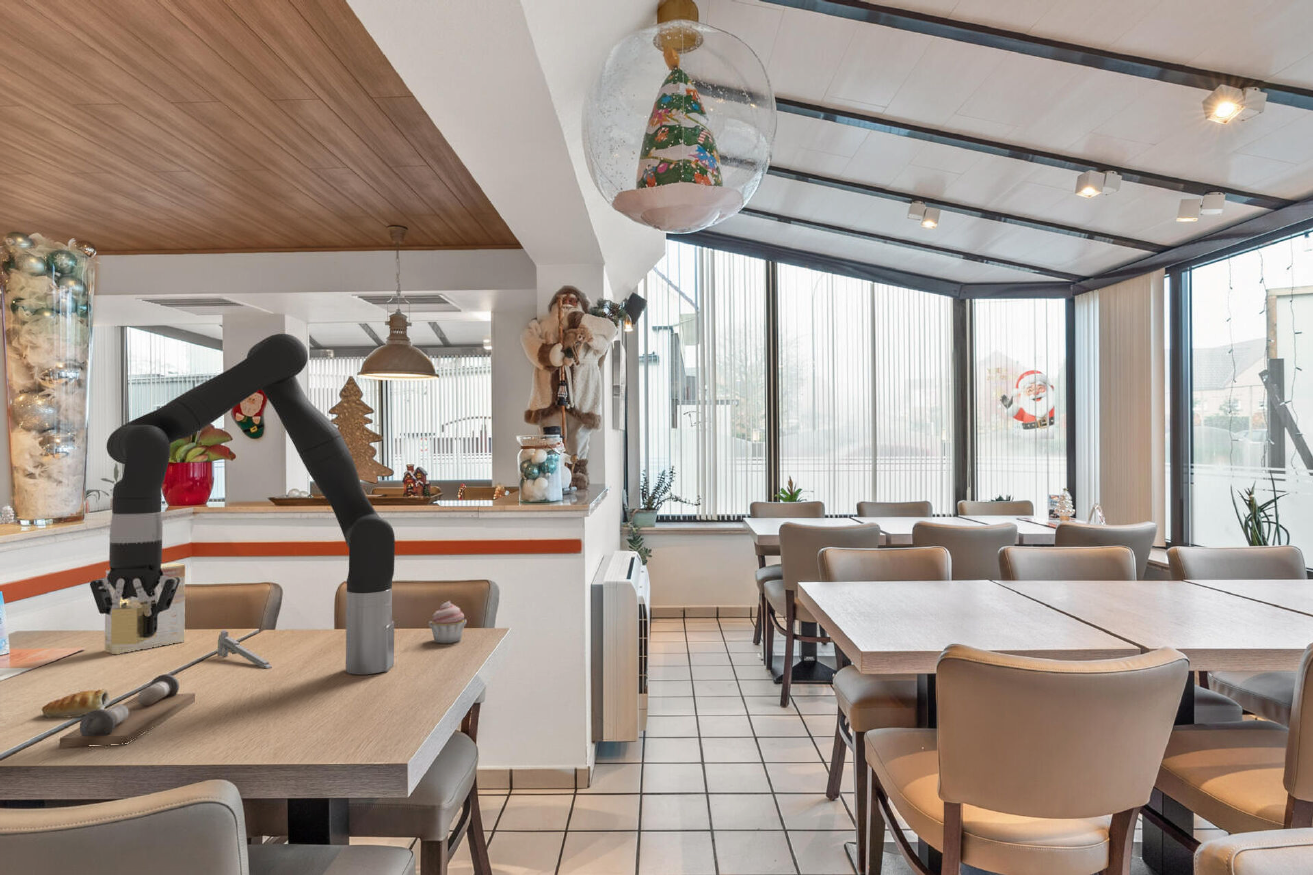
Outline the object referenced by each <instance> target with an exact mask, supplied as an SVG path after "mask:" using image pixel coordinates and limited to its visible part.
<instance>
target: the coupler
mask: <svg viewBox="0 0 1313 875" xmlns="http://www.w3.org/2000/svg"><path fill="white" fill-rule="evenodd" d="M144 617H145V615H144V612H143V607H142V605H141V604H140V603H139V602H133V603H130V604H128V605H124V606H121V607H118V608H114V609H112V620H111V645H124V644H138V643H140V642H143V641H145V640H147V639H150V638H152V637H154V636H156V633H154V635H153V636H151V637H149V638H144V637H143V619H144Z"/></svg>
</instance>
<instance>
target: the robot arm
mask: <svg viewBox="0 0 1313 875" xmlns="http://www.w3.org/2000/svg"><path fill="white" fill-rule="evenodd" d="M308 354H309V353H308V350H307V348H306V346H305V343H303V342H302V341H301V340H300V339H299V338H298V337H296V336H294V335H292V334H289V333H276V334H272V335H270V336H267V337H265V338H264V339H262V340H261V341H259V342H257V343H255V344H254V345H253V346H252V347H251V348H250V349H249V350H248V352H247V354H246V358H244V359H243V360H242V361H240V362H239V363H237V364H236V365H234V366H232V367H230V368H229V369H227V370H225V371H223V372H222V373H220V374H217V375H215V376H214V377H212V378H210V379H208V380H206V381H205V382H202V383H201V384H198V385H197V386H195V387H192V388H191V389H189V390H187V391H186V392H184V393H182V394H180V395H179V396H177V397H175V398H174V399H172V400H170V401H169V402H167V403H166V404H164V405H163V406H161V407H159V408H157V409H156V410H153V411H151V412H148V413H146V414H143V415H142V416H139V417H137V418H135V419H132V420H130V421H129V422H127V423H124V424H122V425H121V426H120V427H118V428H116V429H114V431H112V432H111V434H110V435H109V437H108V439H107V442H106V451H107V454H108V455H109V457H110V458H111V459H113V461H115V462H117V463H119V464H122V465H123V466H124V467H123V472H122V477H121V479H120V480H118V481H117V482H116V483H115V484H114V486H113V488H112V489H113V490H112V502H111V504H112V506H111V508H112V509H111V512H112V514H111V520H110V525H109V550H108V551H109V558H108V560H109V561H108V565H109V570H110V572H109V574H108V576H107V577H106V576H105V577H103V578H98V579H95V580H92V581H90V583H89V587H90V589H91V592H92V596H93V598H94V602H95V604H96V606H97V610H98V613H99V614H101V615H103V614H104V615H105V614H108V615H110V616H111V617H112V609H114V608H118V607H121V606H124V605H128V603H129V601H130V600H131V598H132V597H136V598H138V600H139V603H140V604H141V605H142V607H143V612H144V615H145V617H144V619H143V637H144V638H149V637H151V636H153V635H154V633H156V631H157V619H158V614H159V613H160V612H162V611H165V610H167V609H169V608H170V606H171V603H172V600H173V598H174V595H175V593H176V590H177V587H178V585H179V582H180V579H179V578H178V577H175V578H171V577H167V576H164V574H163V572H162V570H161V564H163V563H162V562H163V526H164V524H163V518H162V497H163V496H162V487H163V484H164V481H165V477H166V474H167V470H168V467H169V466H168V465H169V462H170V458H171V443H173V442H175V441H179V440H183V439H187V438H188V437H191V436H193V435H195V434H197V433H198V432H200V431H201V430H203V429H205V428H206V427H207V426H209V425H210V424H212V423H215V422H216V420H218V419H220V418H221V417H222V416H223V415H225V414H227V413H228V412H230V411H231V410H232V409H234V408H235V407H236V406H238V405H240V403H242V402H243V401H246V399H248V398H249V397H251V396H252V395H254V394H256V393H257V392H259V391H262V393H263V395H264V396H265V398H267V399H268V402H269V403H270V404H271V406H272V407H273V409H274V411H275V413H276V414H277V416H278V417H279V419H280V422H281V423H282V425H283V427H284V429H285V432H286V433H287V434H288V436H289V438H290V440H291V442H292V444H293V445H294V448H295V450H296V452H297V453H298V456H299V458H300V459H301V461H302V463H303V465H304V467H305V468H306V470H307V472H308V474H309V475H310V476H311V478H312V481H313V482H314V483H315V485H316V486H317V487H318V489H319V490H320V492H321V493H322V495H323V496H324V498H325V499H326V501H327V502H328V504H329V506H330V507H331V508H332V511H333V513H334V515H335V518H336V520H337V522H338V524H339V527H340V530H341V532H342V534H343V538H344V540H345V544H346V546H347V547H348V549H349V550H348V573H347V579H346V602H345V603H346V604H345V605H346V608H345V609H346V618H345V622H346V623H345V627H346V628H345V671H346V673H348V674H349V675H350V674H351V675H371V674H377V673H383V672H385V673H386V672H388V671H389V670H390V669H391V668H392V666H394V664H395V621H394V620H393V616H392V615H393V613H392V609H393V608H392V607H393V606H392V605H393V604H392V603H393V602H392V601H393V598H392V597H393V589H392V588H393V578H394V574H395V550H396V548H395V547H396V544H395V543H396V538H395V532H394V528H393V527H392V525H391V524H390V523H389V522H388V521H387V520H385V519H384V518H381V517H380V515H379V514H378V512H377V511H376V510H375V508H374V507H373V505H372V503H371V502H370V500H369V499H368V497H367V496H366V494H365V491H364V490H363V486H362V485H361V484H362V483H361V481H360V477H359V473H358V471H357V467H356V464H355V462H354V458H353V456H352V454H351V452H350V450H349V447H348V445H347V443H346V442H345V440H344V437H343V435H342V434H341V433H340V431H339V429H338V427H337V426H336V425H335V424H334V423H333V422H332V421H331V420H330V418H328V416H326V415H325V414H324V413H322V411H321V410H319V408H317V407H316V406H315V405H314V404H313V403H312V402H311V401H310V400H309V398H308V397H307V396H306V394H305V393H304V391H303V388H302V387H301V385H300V383H299V381H298V379H297V375H299V374H300V373H301V372H302V371H303V370H304V369H305V367H306V365H307V362H308V356H309V355H308ZM160 582H161V588H162V592H161V594H160V597H159V600H158V602H157V599H158V596H157V592H156V589H155V588H156V587H157V585H158V584H159V583H160ZM110 584H111V586H112V587H113V588H114V589H115V593H114V596H113V599H112V596H111V594H110V591H109V588H110ZM147 595H148V597H147Z"/></svg>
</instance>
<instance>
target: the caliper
mask: <svg viewBox="0 0 1313 875" xmlns="http://www.w3.org/2000/svg"><path fill="white" fill-rule="evenodd" d="M228 635H229V631H227V630H226V629H223V630H221V631H220V634H219V635H218V640H217V656H218V657H222V658H225V657H228V656H229V653H230V654H232V655H237V654H238V655H239V656H240V657H241V656H242V657H243V658H245V659H246V660H248V661H249V662H251V663H252V664H255V665H256V666H257V667H259V668H261V669H262V668H263V669H267V670H268V669H271V668H273V667H272V665H271V664H269V663H270V662H269V660H266V659H264V658H263V657H261V656H259V655H258V654H256V653H255V652H253V651H251V650H250V649H249V650H248V649H247V648H246V647H244V646H242V645H241V644H240V642H239V641H237V640H236V639H234V638H232V637H230V636H228Z"/></svg>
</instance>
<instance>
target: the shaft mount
mask: <svg viewBox="0 0 1313 875" xmlns="http://www.w3.org/2000/svg"><path fill="white" fill-rule="evenodd" d="M179 690H180V683H179V681H178V679H177V678H176V677H175V676H173V675H171V674H167V673H164V674H161V675H158V676H156V677H155V678H154V679H152V680H151V682H150V684H149V686H148V687H146V688H144V689H142V690H141V691H140V692H138V695H136V696H134V697H133V698H131V699H129V700H127V701H126V702H124V703H121V704H120V703H118V704H115V705H113V706H111V707H110V708H107V709H104V710H102V709H99V710H94V711H92V712H90V713H88V714H86V715H85V716H82V718H81V719H80V722H79V727H78V728H76V729H74V730H73V731H70V732H68V733H67V734H65V735H63V736H62V737H60V738H59V749H65V747H67V749H68V747H69V748H81V747H80V746H89V745H111V744H122V743H123V744H125V743H128V742H130V741H131V740H133V739H135V738H137V737H138V736H140V735H141V734H143V733H144V732H146V731H148V730H149V729H151V728H152V727H154V728H155V726H156V725H157V726H159V725H160V724H162V723H164V722H165V721H167V720H168V719H169V717H170V718H171V717H173V716H174V715H176V714H178V713H179V712H181V711H182V710H184V709H185V708H187V707H188V706H190V705H192V704H193V703H194V702H196V693H195V692H192V693H191V692H190V693H188V692H187V693H178V692H179ZM186 706H187V707H186ZM183 708H184V709H183ZM180 710H181V711H180ZM166 719H167V720H166ZM159 723H160V724H159ZM158 724H159V725H158ZM157 726H156V727H157ZM151 730H152V729H151ZM149 731H150V730H149ZM149 731H148V732H149ZM146 733H147V732H146ZM143 735H144V734H143ZM140 737H141V736H140ZM137 739H138V738H137Z"/></svg>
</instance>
